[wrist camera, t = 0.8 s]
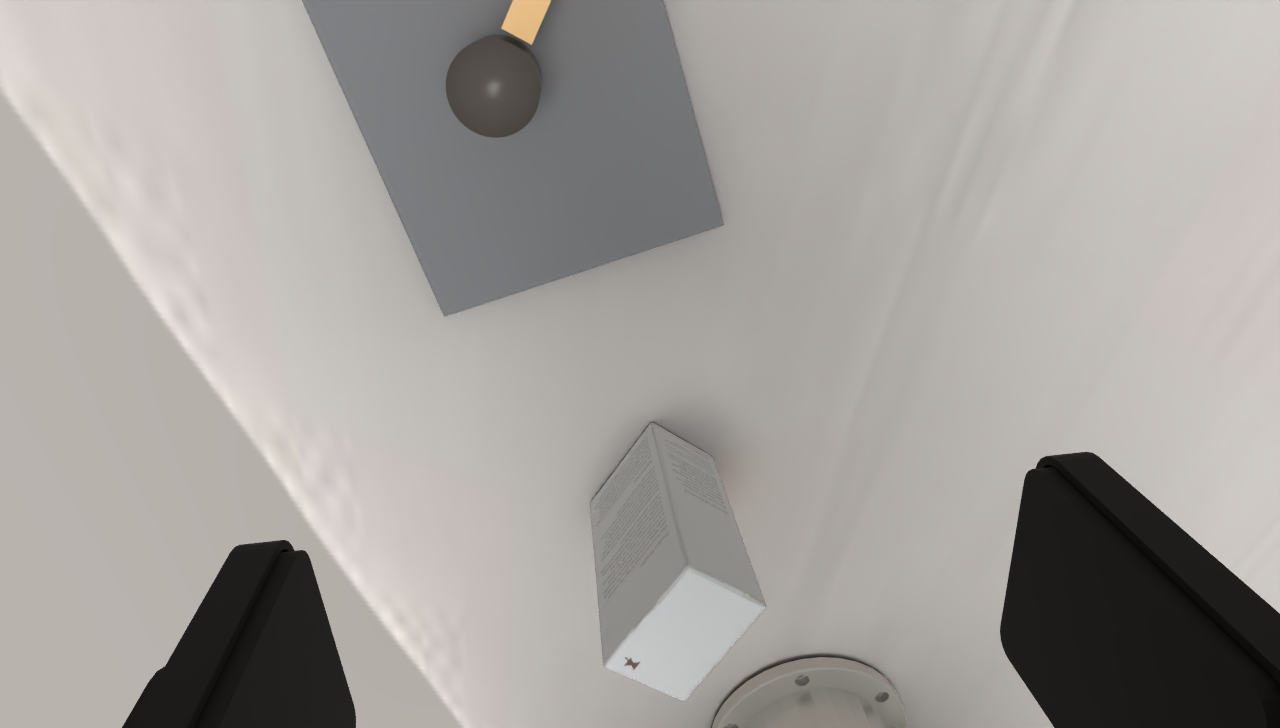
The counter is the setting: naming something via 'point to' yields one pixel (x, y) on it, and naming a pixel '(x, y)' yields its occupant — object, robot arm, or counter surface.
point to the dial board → (524, 140)
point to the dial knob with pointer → (499, 75)
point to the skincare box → (669, 566)
